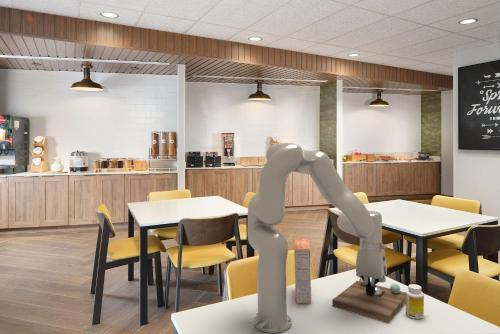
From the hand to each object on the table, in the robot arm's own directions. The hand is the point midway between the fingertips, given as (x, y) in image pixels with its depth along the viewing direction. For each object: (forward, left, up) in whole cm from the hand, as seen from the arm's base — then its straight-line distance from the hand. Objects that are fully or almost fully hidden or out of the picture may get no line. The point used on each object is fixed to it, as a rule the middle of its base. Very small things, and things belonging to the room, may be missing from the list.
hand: (370, 294), depth 130 cm
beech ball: (+8, +6, +1) cm, 10 cm away
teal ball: (+8, -6, +1) cm, 10 cm away
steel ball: (+5, 0, -1) cm, 5 cm away
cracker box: (-10, +23, -4) cm, 25 cm away
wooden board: (0, 0, -3) cm, 3 cm away
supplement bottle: (0, -15, -4) cm, 16 cm away
